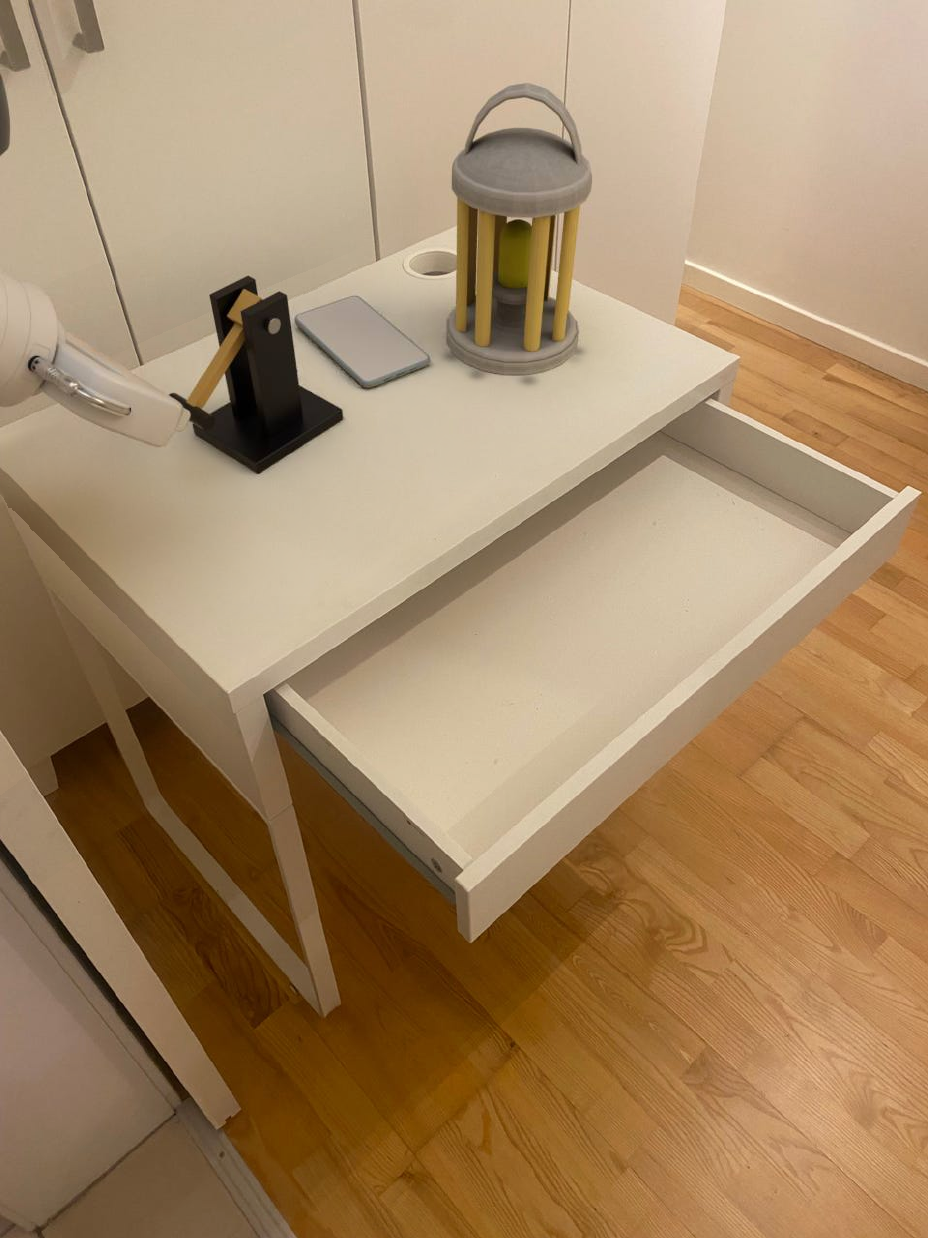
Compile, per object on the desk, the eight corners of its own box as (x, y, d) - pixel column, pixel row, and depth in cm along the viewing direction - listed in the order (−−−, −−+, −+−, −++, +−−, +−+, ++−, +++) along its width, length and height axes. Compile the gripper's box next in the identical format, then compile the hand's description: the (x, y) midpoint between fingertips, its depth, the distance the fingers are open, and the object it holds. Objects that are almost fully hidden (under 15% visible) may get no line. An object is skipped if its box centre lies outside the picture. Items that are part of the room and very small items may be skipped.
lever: (212, 435, 83) (195, 424, 81) (176, 412, 85) (158, 401, 83) (286, 317, 83) (271, 302, 81) (248, 296, 85) (232, 282, 83)
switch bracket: (258, 474, 87) (233, 340, 77) (194, 433, 91) (162, 301, 81) (343, 419, 93) (331, 287, 83) (280, 383, 97) (261, 253, 86)
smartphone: (365, 384, 95) (290, 315, 103) (365, 392, 96) (291, 323, 104) (434, 357, 99) (357, 292, 106) (434, 366, 99) (357, 300, 107)
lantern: (435, 367, 99) (433, 110, 80) (457, 296, 108) (460, 52, 90) (572, 381, 98) (602, 123, 79) (582, 309, 107) (611, 63, 88)
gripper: (103, 351, 60) (246, 411, 73) (-66, 246, 69) (88, 315, 81) (63, 441, 61) (211, 485, 74) (-98, 326, 70) (58, 382, 83)
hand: (145, 395), depth 78 cm, fingers open, 8 cm apart
